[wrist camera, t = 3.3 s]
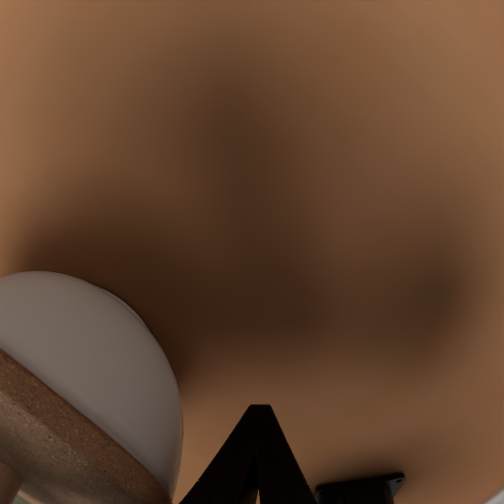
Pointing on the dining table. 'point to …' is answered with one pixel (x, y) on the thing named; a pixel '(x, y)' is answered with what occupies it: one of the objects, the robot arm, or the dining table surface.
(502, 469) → the dining table surface
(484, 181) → the dining table surface
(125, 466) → the lidded jar
